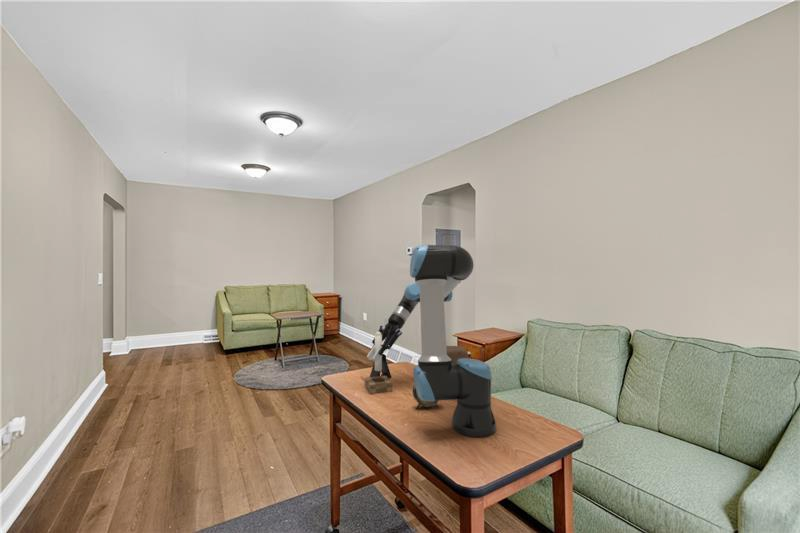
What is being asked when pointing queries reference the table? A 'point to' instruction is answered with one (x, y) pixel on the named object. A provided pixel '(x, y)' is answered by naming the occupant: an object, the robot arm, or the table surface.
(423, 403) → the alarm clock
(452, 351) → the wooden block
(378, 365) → the needle peg
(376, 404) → the table surface
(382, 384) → the brown square box
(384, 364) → the door stopper
